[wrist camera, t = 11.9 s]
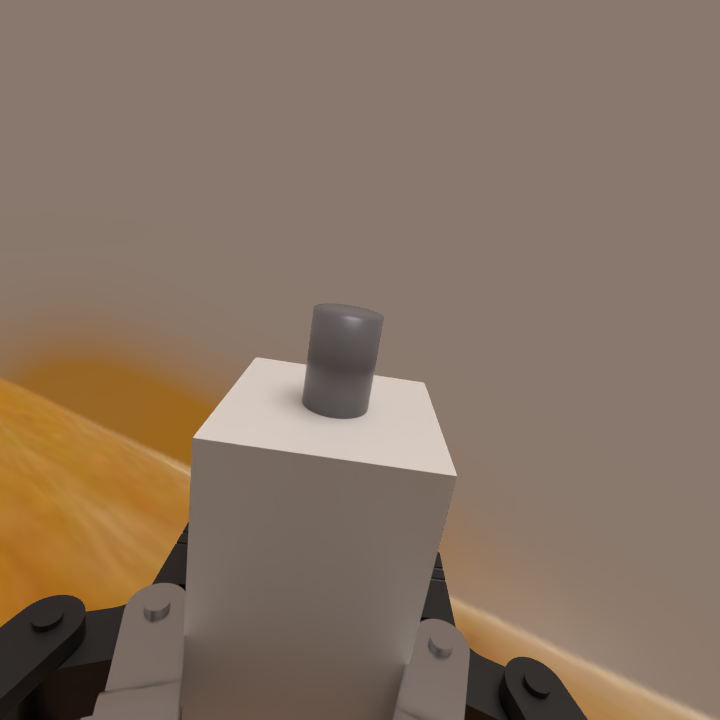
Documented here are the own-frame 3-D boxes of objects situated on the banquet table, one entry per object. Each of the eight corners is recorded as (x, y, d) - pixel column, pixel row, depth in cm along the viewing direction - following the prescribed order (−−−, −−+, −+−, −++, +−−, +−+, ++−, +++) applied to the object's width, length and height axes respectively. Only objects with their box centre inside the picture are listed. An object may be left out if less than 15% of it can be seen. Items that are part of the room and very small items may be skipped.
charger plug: (344, 915, 11) (486, 363, 7) (171, 896, 11) (198, 319, 7) (350, 727, 16) (440, 307, 11) (224, 711, 15) (263, 279, 11)
